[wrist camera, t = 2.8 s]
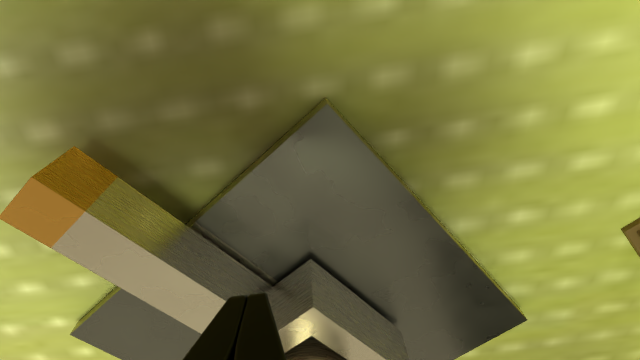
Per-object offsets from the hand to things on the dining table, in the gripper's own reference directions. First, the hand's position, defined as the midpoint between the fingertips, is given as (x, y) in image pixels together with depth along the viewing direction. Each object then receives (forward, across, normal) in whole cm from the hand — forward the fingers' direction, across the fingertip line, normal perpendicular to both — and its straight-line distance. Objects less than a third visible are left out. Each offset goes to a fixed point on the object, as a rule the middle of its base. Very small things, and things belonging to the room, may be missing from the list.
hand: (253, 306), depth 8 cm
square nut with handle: (+7, +3, +6) cm, 9 cm away
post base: (+8, 0, +10) cm, 13 cm away
